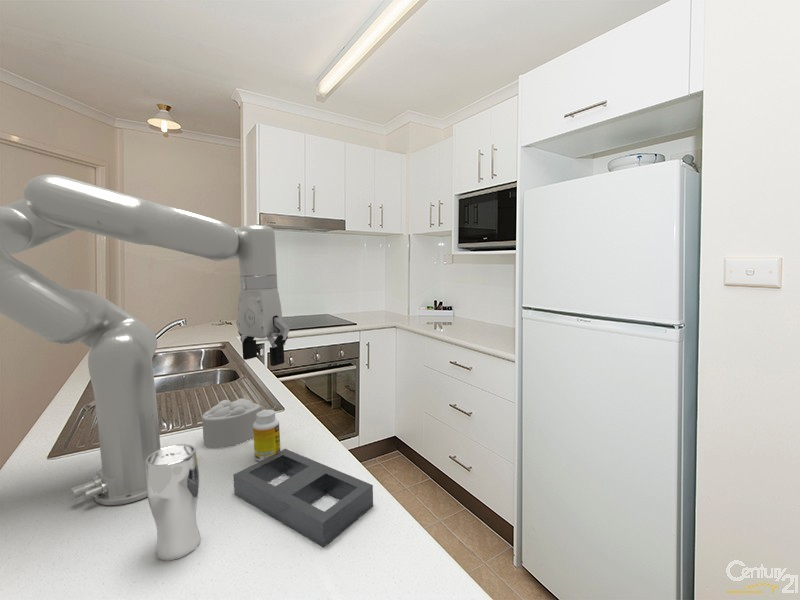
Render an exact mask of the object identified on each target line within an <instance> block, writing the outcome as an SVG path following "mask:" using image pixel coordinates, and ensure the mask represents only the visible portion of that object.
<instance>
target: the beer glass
mask: <svg viewBox="0 0 800 600" xmlns="http://www.w3.org/2000/svg"><path fill="white" fill-rule="evenodd" d="M196 448H197V447H195V446H194V445H192V444H188V443H187V444H186V443H178V444H173V445H169V446H165V447H162V448H161V449H159V450H157V451H155V452H153V453H152V454H150V455H149V456H148V457H147V458H146V490H147V497H146V498H147V500H148V505H149V508H150V511H151V514H152V517H153V521H154V523H155V527H156V528H155V529H156V544H155V545H156V546H155V556H156V558H157V559H159V560H161V561H165V560H166V561H168V560H169V561H175V560H178V559H180V558H183V557H186V556H187V555H189V554H191V553H192V552H193V551H194V550H195V549H196V548H197V547H198V546H199V545H200V543H201V533H200V529H199V526H198V524H197V507H198V501H199V500H198V499H199V493H200V471H199V464H198V457H197V452H196V451H197V450H196ZM166 561H165V562H166Z"/></svg>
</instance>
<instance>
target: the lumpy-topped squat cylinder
mask: <svg viewBox="0 0 800 600" xmlns="http://www.w3.org/2000/svg"><path fill="white" fill-rule="evenodd" d="M260 411H261V405H260V404H258V403H255V402H252V401H251V400H249V399H246V398H243V397H242V398H238V399H236V400H234V401H231V400H229V399H224V400H220V401H219V402H218V403H217V404H216V405H214V406H212V407H211V408H210V409H209V410H207V411H205V412H204V413H203V414H202V418H201V419H202V432H203V433H202V435H203V437H202V438H203V446H204V447H205V448H207V449H222V448H230V447H235V446H238V445H241V444H244V443H246V442H248V441H247V440H249V441H251V440H253V439H254V435H253V424H254V422H255V421H256V414H257V413H258V412H260ZM252 438H253V439H252ZM250 439H251V440H250ZM245 441H246V442H245ZM243 442H244V443H243ZM240 443H241V444H240ZM237 444H238V445H237Z"/></svg>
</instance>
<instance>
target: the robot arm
mask: <svg viewBox="0 0 800 600" xmlns="http://www.w3.org/2000/svg"><path fill="white" fill-rule="evenodd" d="M76 231H83V232H87V233H91V234H95V235H100V236H103V237H107V238H110V239H115V240H120V241H124V242H127V243H131V244H135V245H142V246H143V245H144V246H154V247H159V248H164V249H168V250H172V251H176V252H181V253H185V254H188V255H193V256H196V257H199V258H200V257H201V258H204V259H207V260H211V261H215V262H221V261H228V260H235V259H238V265H239V266H238V267H239V269H238V270H239V287H240V290H239V295H238V302H237V303H238V304H237V320H236V322H235V324H236V327H237V330H238V331H237V332H238V334H239V336H240V342H241V346H242V359H243V360H245V361H247V360H251V359H255V358H257V356H258V352H257V351H258V350H257V339H266V338H267V340H268V342H269V344H270V347H269V362H270V363H269V364H270V366H271V367H276V366H279V365H282V364H284V363H285V348H284V347H285V345H286V342H287V340H288V337H289V333H290V330H291V329H290V326H289V325H288V324H286V322H285V321H284V320H283V310H282V305H281V299H280V293H279V290H278V270H277V268H278V267H277V251H276V234H275V230H274V229H273V227H271V226H268V225H261V224H260V225H259V224H247V225H241V226H240V227H233V226H231V225H230V224H228V223H226V222H224V221H221V220H218V219H215V218H212V217H208V216H204V215H202V214H199V213H198V214H197V213H194V212H191V211H188V210H184V209H179V208H176V207H172V206H169V205H165V204H161V203H158V202H155V201H152V200H148V199H146V198H145V199H144V198H140V197H137V196H135V195H134V196H133V195H131V194H130V195H129V194H127V193H123V192H119V191H116V190H114V189H113V190H112V189H110V188H109V189H108V188H105V187H101V186H98V185H95V184H92V183H88V182H86V181H82V180H79V179H78V180H77V179H74V178H72V177H68V176H64V175H60V174H48V173H47V174H40V175H37V176H35V177H33V178H31V179H30V180H29V181H28V182H27V183H26V185H25V187H24V190H23V198H21V199H18V200H16V201H13V202H10V203H7V204H4V205H2V206H1V205H0V314H2V315H3V316H5V317H6V318H8V319H10V320H12V321H13V322H15V323H17V324H18V325H20V326H22V327H24V328H26V329H27V330H29V331H31V332H33V333H34V334H36V335H38V336H39V337H41V338H43V339H44V340H45V341H48V342H51V343H53V344H58V345H69V344H70V345H71V344H75V343H78V342H80V343H82V344H84V345H86V346H87V347H89V348H90V349H89V352H88V357H87V367H88V373H89V377H90V381H91V386H92V391H93V395H94V403H95V413H96V419H97V420H96V421H97V429H98V430H97V431H98V440H99V448H100V449H99V451H100V460H101V469H100V470H98V471H96V477H94V478H92V479H91V481H88V482H85V483H82V484H79V485H77V486H74V487H71V488H70V496H71V499H73V500H74V499H77V498H80V497H82V496H84V497H85V499H86V500H88V499H90V498H92V497H93V498H94V500H95V502H96V503H98V504H100V505H105V506H119V505H125V504H131V503H134V502H137V501H139V500H140V501H141V500H143V499H145V498H148V497H147V490H146V458H147V457H148V456H149V455H150V454H152V453H153V452H155V451H157V450H159V449H162V448H161V439H160V438H161V437H160V427H159V425H160V424H159V414H158V413H159V412H158V403H157V391H156V383H155V377H154V376H155V375H154V369H153V357H154V355H155V353H156V351H157V348H158V338H157V336H156V334H155V331H153V330H152V328H151V327H150V326H148V325H147V324H146V323H144V322H143V321H141V320H140V319H139V318H137V317H135V316H133V315H132V314H130V313H129V312H127V311H126V310H124V309H122V308H121V307H120V306H118V305H116V304H115V303H113V302H112V301H110V300H109V299H107V298H106V297H104V296H102V295H101V294H98V293H96V292H94V291H91V290H87V289H81V288H79V289H78V288H77V289H76V288H75V289H68V288H67V287H65V286H63V285H61V284H59V282H58V283H57V282H56V281H54V280H52V279H51V278H50V277H48V276H46V275H45V274H43V273H41V272H40V271H39V270H37V269H35V268H33V266H30V265H29V264H27V263H24V262H23V261H21V260H19V259H17V258H16V257H14V256H12V255H15V254H19V253H22V252H26V251H28V250H31V249H33V248H36V247H39V246H41V245H43V244H46V243H49V242H51V241H53V240H56V239H59V238H62V237H64V236H66V235H69V234H72V233H73V232H76ZM275 338H276V339H275Z"/></svg>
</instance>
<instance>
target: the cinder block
mask: <svg viewBox="0 0 800 600" xmlns="http://www.w3.org/2000/svg"><path fill="white" fill-rule="evenodd" d="M283 474H285V475H287V476H288V478H287V479H285V480H283V481H281V482H280V483H278V484H277V485H273V484H271V483H270V482H271V481H272V480H274V479H276V478H277V477H279V476H281V475H283ZM373 487H374V485H373V484H371V483H369V482H366V481H364V480H362V479H359V478H356V477H354V476H352V475H349V474H347V473H345V472H342V471H340V470H337V469H334V468H332V467H331V466H328V465H325V464H324V463H321V462H319V461H316V460H313V459H311V458H308V457H306V456H304V455H301V454H299V453H297V452H294V451H292V450H289V449H287V448H284V449H282V450H280V452H278V453H276V454H274V455H272V456H270V457H268V458H266V459H264V460H262V461H257V462H256V463H254V464H251V465H250V466H248V467H245V468H244V469H242V470H240V471H237V472H236V473H234V474H233V491H234V496H236V497H238V498H240V499H241V500H243V501H244V502H246V503H248V504H250V505H251V506H253V507H255V508H256V509H259V510H260V511H261V512H263V513H265V514H266V515H268V516H270V517H272V518H273V519H275V520H277V521H279V522H280V523H282V524H283V525H285V526H287V527H289V528H291V529H292V530H294V531H295V532H297V533H299V534H300V535H302V536H304V537H306V538H308V540H311V541H312V542H314V543H316V544H317V545H319V546H321V547H322V548H325V547H326V546H327V545H329V544H330V543H331V542H332V541H333V540H334V539H336V537H338V536H339V535H340V534H342V533H343V532H344V531H345V530H346V529H348V528H349V527H350V526H351V525H352V524H353V523H355V522H356V521H357V520H359V518H361V517H362V516H363V515H365V514H366V513H367V512H368V511H369V510H370V509H372V508H373V507H374V490H373V489H374V488H373ZM326 494H327V495H329V496H331V497H333V498H335V499H338V501H337V502H336V503H334V504H333V505H332V506H330V507H329V508H328V509H326V510H325V511H324V510H322V509H320V508H318V507H316V506H314V505H312V504H313V503H315V502H316V501H318V500H319V499H321V498H323V496H325V495H326Z"/></svg>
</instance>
